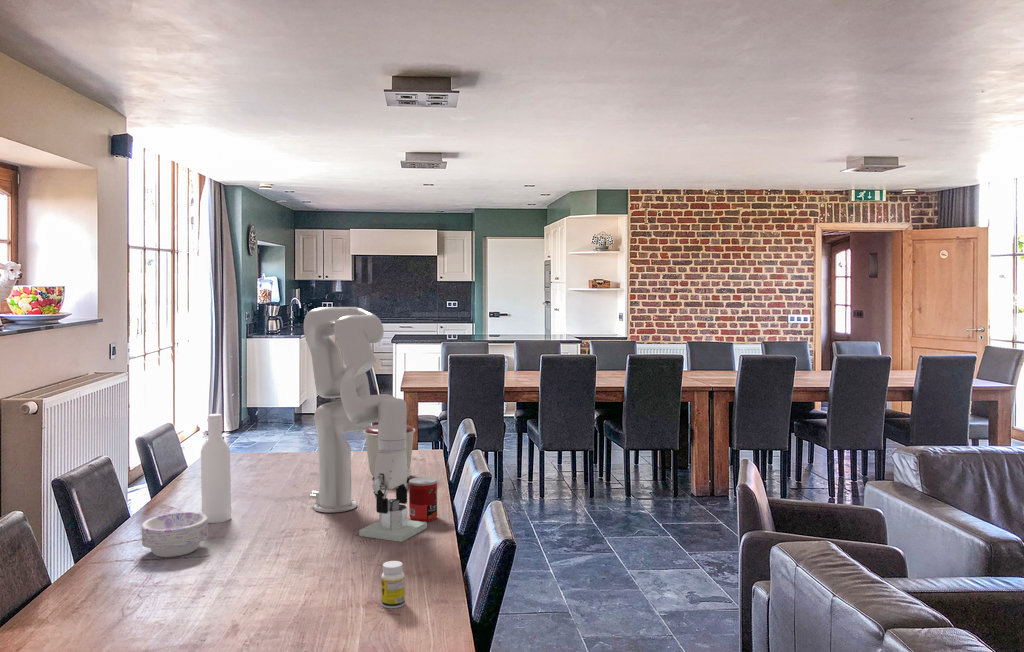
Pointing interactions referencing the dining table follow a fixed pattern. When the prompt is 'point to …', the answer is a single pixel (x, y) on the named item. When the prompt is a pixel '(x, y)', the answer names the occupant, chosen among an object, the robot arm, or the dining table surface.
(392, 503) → the steel post
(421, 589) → the dining table surface
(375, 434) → the canister
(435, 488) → the canned food
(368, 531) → the green board
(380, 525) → the metal ring
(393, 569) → the supplement bottle
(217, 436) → the bottle
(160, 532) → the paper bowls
